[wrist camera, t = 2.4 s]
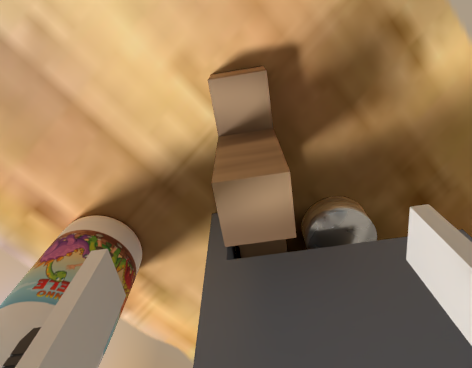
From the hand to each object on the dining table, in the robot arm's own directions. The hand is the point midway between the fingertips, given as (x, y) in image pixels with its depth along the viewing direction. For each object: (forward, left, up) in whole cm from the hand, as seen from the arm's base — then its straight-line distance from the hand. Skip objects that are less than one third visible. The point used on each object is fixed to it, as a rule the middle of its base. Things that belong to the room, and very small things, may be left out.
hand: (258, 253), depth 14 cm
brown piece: (+5, 0, -14) cm, 15 cm away
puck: (+9, +7, -14) cm, 18 cm away
